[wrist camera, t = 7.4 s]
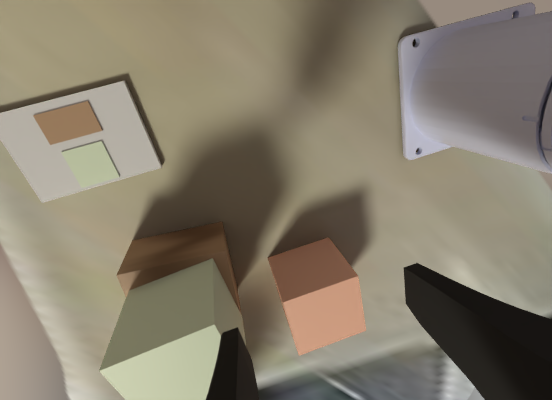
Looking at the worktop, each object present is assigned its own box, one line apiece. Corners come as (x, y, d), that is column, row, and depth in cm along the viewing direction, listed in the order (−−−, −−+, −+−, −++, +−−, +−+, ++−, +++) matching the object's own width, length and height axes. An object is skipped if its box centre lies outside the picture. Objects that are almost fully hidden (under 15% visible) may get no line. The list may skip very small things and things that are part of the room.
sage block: (212, 258, 17) (214, 324, 12) (242, 317, 19) (252, 391, 14) (129, 290, 16) (98, 371, 12) (168, 346, 19) (156, 433, 14)
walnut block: (222, 220, 20) (225, 250, 17) (237, 287, 23) (243, 326, 19) (133, 238, 20) (116, 275, 16) (158, 306, 22) (149, 350, 18)
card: (125, 80, 16) (123, 80, 15) (162, 165, 18) (161, 168, 17) (-10, 115, 15) (-17, 117, 15) (45, 200, 17) (41, 203, 17)
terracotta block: (328, 236, 23) (358, 275, 18) (337, 284, 25) (366, 330, 20) (267, 257, 22) (282, 302, 18) (282, 304, 24) (298, 355, 20)
